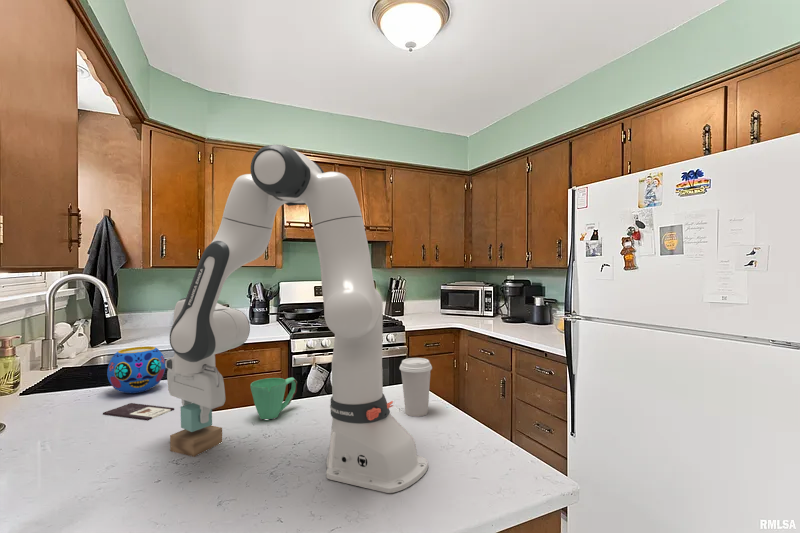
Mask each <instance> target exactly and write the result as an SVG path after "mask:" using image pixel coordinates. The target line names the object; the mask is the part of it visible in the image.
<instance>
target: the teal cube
mask: <svg viewBox="0 0 800 533" xmlns="http://www.w3.org/2000/svg"><path fill="white" fill-rule="evenodd" d="M179 408H180V428H182V430H184V429H186V430H188V431H190V432H193V431H196V430H199V429H202V428H205V427H208V426H210V425H211V426H213V409H211V410H210V413H209V421H208V422H206V423H200V422H199V421H198V420H199V419H198V415H200V413H201V409H200V405H197V404H194V403H192V404H188V405H185V406H183V405H182V406H180V407H179Z"/></svg>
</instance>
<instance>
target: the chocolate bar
mask: <svg viewBox="0 0 800 533" xmlns="http://www.w3.org/2000/svg"><path fill="white" fill-rule="evenodd" d="M174 410H175V407H170V406H160V405H152V404H151V405H150V404H143V403H135V402H131V403H127V404H124V405H121V406H119V407H115V408H112V409H110V410H107V411H103V412H102V415H104V416H110V417H111V416H112V417H119V418H125V419H133V420H134V419H135V420H141V421H150V420H153V419H155V418H157V417H160V416H162V415H165V414H167V413H169V412H172V411H174Z"/></svg>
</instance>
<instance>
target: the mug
mask: <svg viewBox="0 0 800 533" xmlns="http://www.w3.org/2000/svg"><path fill="white" fill-rule="evenodd" d="M288 384H291V389H290V390H289V393H288V394H287V396H286V398H285V392H286V388H287V386H288ZM249 385H250V392H251V394H252V399H253V404H254V406H255V409H256V411H257V413H258V417H259V418H260V420H261V419H273V418H276V417H277V418H278V417H279V415H280V413H281V412H283V410H284V409H286V408H287V407H288V406H289V405H290V404H291V402H292V400H293V398H294V397H295V395H296V393H297V391H298V381H297V380H296V379H295V378H294V377H288V378H286V379H284V378H282V377H269V378H262V379H261V378H260V379H258V380H254V381H253V382H251V383H250V384H249ZM284 398H285V400H284ZM277 418H276V419H277ZM273 420H274V419H273Z"/></svg>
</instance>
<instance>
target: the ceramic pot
mask: <svg viewBox="0 0 800 533" xmlns="http://www.w3.org/2000/svg"><path fill="white" fill-rule="evenodd" d="M165 361H166V359H165V356H164V354H163V353H162V351H161V350H160V349H158V348H157V347H156V346H149V345H148V346H135V347H128V348H123V349H120V350H118V351H117V352H115V353H114V354H113V355H112V356H111V358H110V361H109V363H108V366H107V370H106V371H107V372H106V375H107V380H108V382H109V384H110V385H111V386H112V387H113V389H115V390H117V391H118V392H120V393H124V394H125V393H126V394H138V393H143V392H145V391H146V392H147V391H148V390H151V389H152V388H154V387H156V386H157V385H159V384H160V382H161V380H162V379H163V376H164V375H165V374H166V373H165V372H166V369H167V368H166V366H165Z"/></svg>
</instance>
